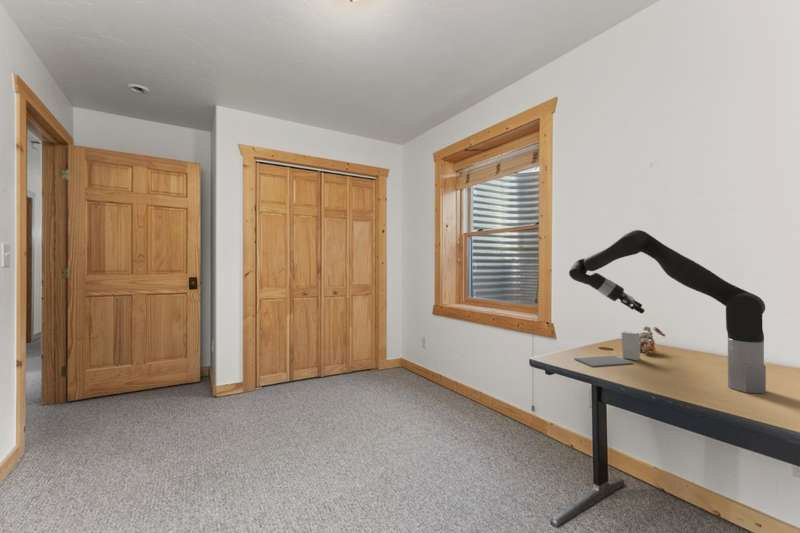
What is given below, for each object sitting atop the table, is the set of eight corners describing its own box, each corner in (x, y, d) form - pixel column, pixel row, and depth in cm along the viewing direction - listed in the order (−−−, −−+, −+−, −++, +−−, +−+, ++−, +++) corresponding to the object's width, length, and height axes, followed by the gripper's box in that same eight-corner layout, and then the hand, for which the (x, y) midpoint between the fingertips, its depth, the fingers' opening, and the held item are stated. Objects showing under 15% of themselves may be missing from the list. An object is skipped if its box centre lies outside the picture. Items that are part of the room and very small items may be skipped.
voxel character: (637, 357, 177) (631, 337, 189) (658, 364, 175) (651, 343, 188) (649, 340, 171) (641, 321, 183) (671, 347, 169) (662, 327, 181)
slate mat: (592, 367, 157) (592, 365, 157) (574, 359, 169) (574, 358, 169) (633, 364, 161) (633, 362, 161) (613, 356, 172) (613, 355, 172)
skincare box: (640, 359, 168) (640, 332, 168) (636, 360, 165) (636, 334, 165) (625, 356, 173) (625, 330, 173) (621, 358, 170) (621, 332, 170)
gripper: (616, 286, 170) (650, 307, 166) (614, 280, 183) (645, 299, 178) (605, 299, 173) (638, 320, 169) (604, 291, 186) (634, 310, 181)
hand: (642, 309), depth 174 cm, fingers open, 8 cm apart
